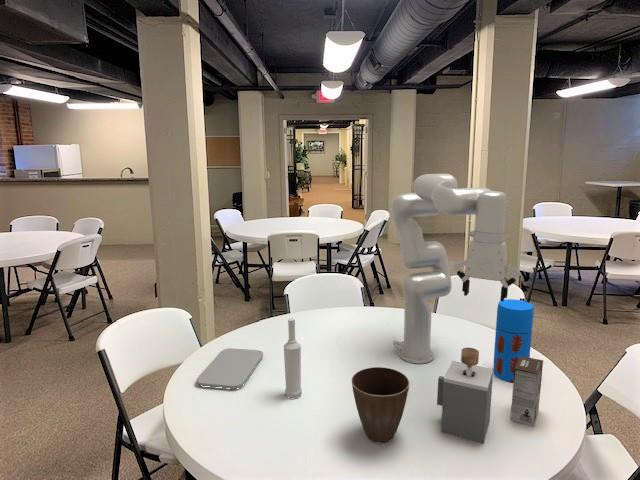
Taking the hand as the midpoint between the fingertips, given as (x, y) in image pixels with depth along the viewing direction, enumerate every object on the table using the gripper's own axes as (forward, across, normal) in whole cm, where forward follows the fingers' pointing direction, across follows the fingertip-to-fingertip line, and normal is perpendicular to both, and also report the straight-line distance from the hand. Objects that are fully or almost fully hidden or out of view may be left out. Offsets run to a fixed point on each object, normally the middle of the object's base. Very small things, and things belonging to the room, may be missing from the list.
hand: (484, 297), depth 127 cm
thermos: (+35, +6, +25) cm, 43 cm away
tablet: (+36, -79, -16) cm, 88 cm away
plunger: (+31, -1, -11) cm, 33 cm away
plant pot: (+35, -20, -26) cm, 48 cm away
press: (+34, -2, -11) cm, 36 cm away
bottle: (+35, -51, -20) cm, 65 cm away
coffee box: (+34, +13, +3) cm, 37 cm away
